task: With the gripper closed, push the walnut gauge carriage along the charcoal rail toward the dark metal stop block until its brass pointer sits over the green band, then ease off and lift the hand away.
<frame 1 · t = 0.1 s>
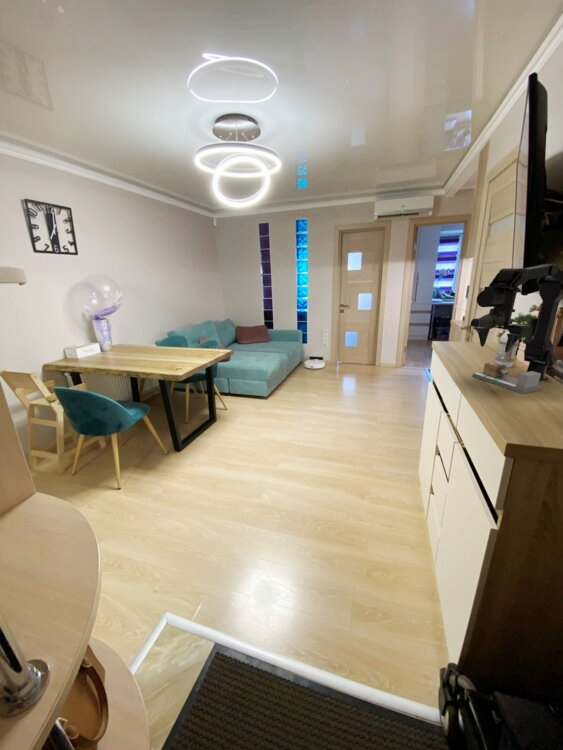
hand: (493, 349, 113), 15 cm above the table, tool pointing down, fingers open, 9 cm apart
gauge rail: (504, 382, 121), on the table
bath foam: (502, 366, 143), on the table
gauge carriage: (496, 370, 123), point 4 cm above the table, slide at 0.0 cm
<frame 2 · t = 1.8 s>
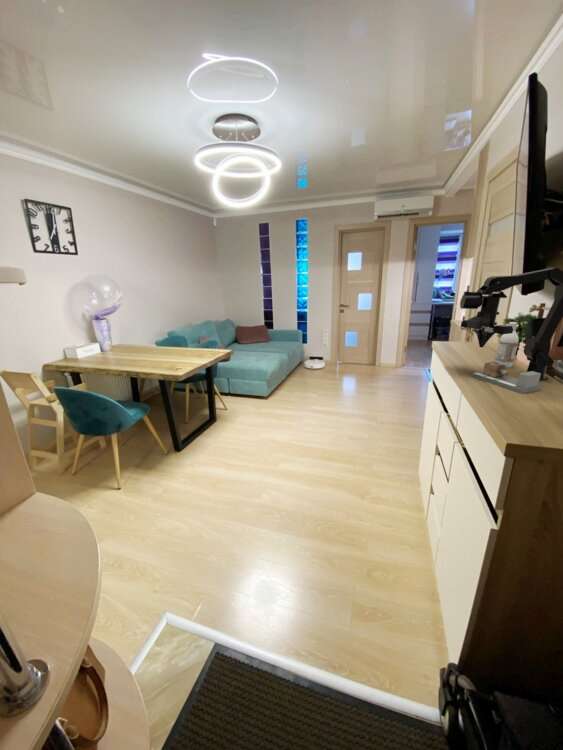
hand: (481, 347, 128), 12 cm above the table, tool pointing down, fingers closed
nothing on the table moved.
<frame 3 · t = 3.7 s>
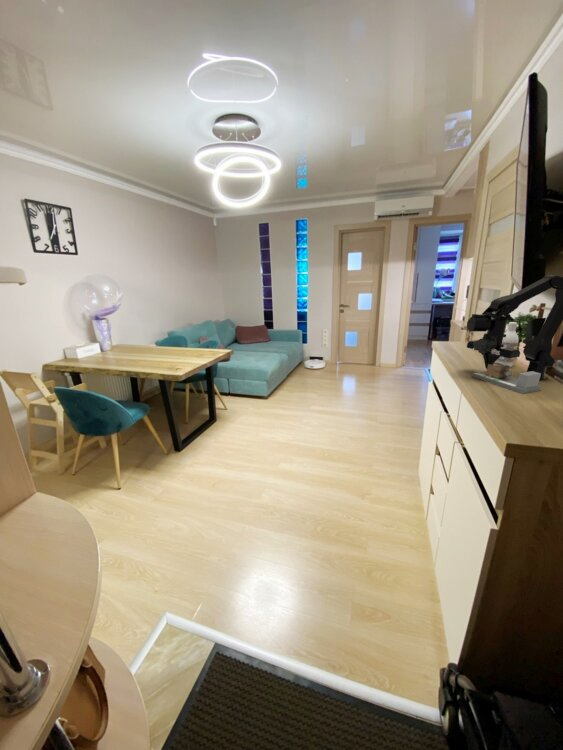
hand: (487, 368, 127), 3 cm above the table, tool pointing down, fingers closed
gauge carriage: (499, 371, 122), point 4 cm above the table, slide at 1.4 cm, touching gripper
everything else where it was.
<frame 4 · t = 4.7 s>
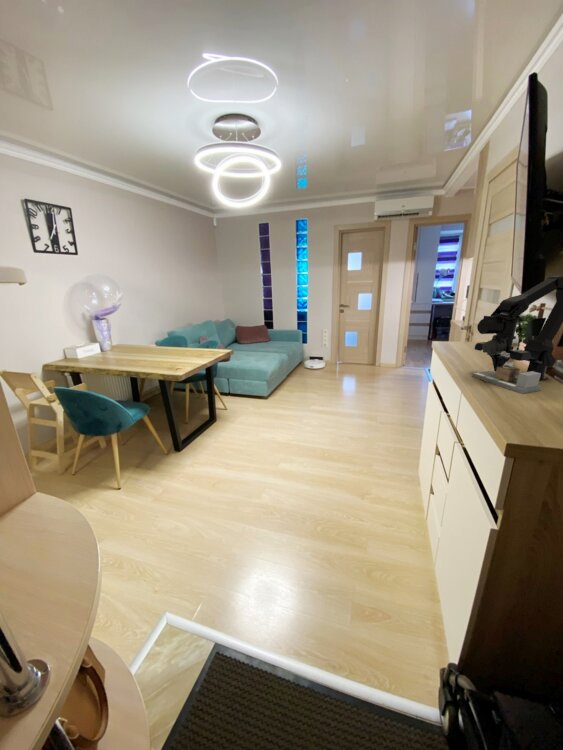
hand: (496, 371, 124), 3 cm above the table, tool pointing down, fingers closed
gauge carriage: (509, 373, 118), point 4 cm above the table, slide at 5.2 cm, touching gripper
everything else where it was.
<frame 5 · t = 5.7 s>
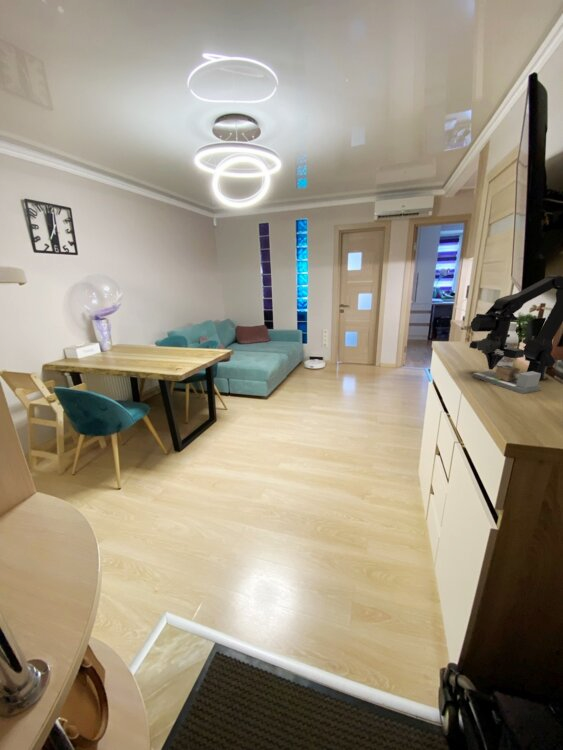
hand: (490, 369, 126), 4 cm above the table, tool pointing down, fingers closed
gauge carriage: (509, 373, 118), point 4 cm above the table, slide at 5.2 cm
everything else where it was.
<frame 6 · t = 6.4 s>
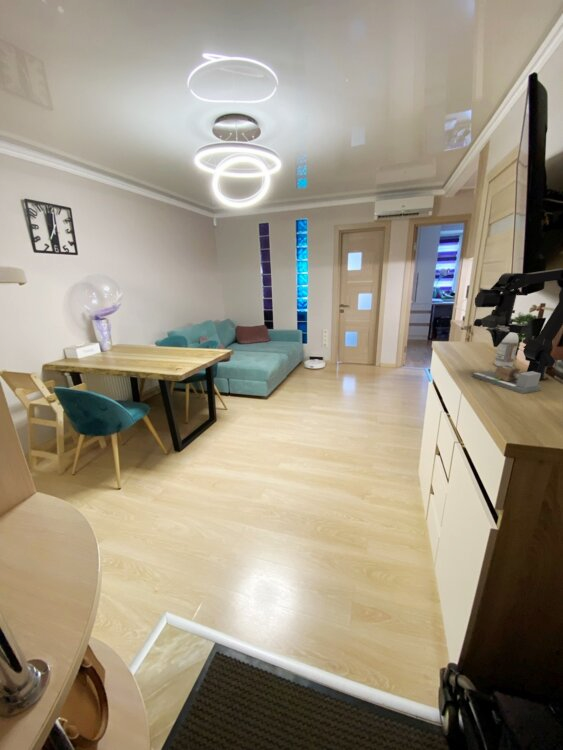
hand: (495, 346, 123), 13 cm above the table, tool pointing down, fingers closed
nothing on the table moved.
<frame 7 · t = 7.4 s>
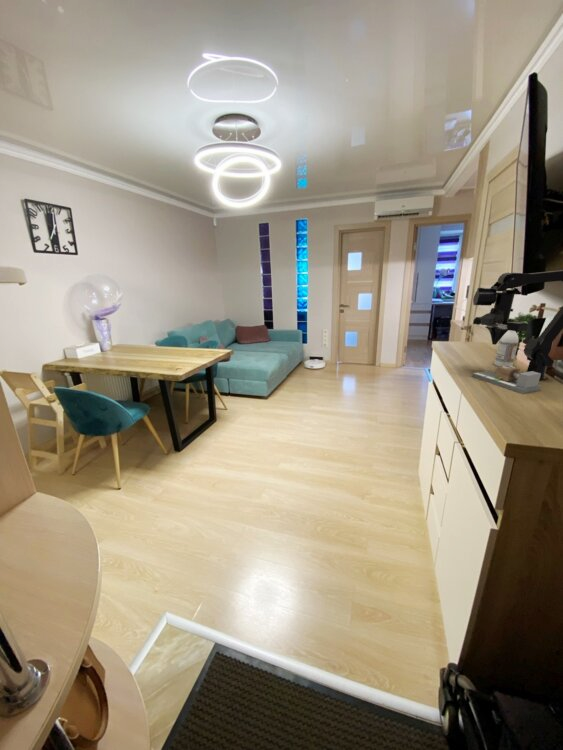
hand: (494, 344, 127), 13 cm above the table, tool pointing down, fingers closed
nothing on the table moved.
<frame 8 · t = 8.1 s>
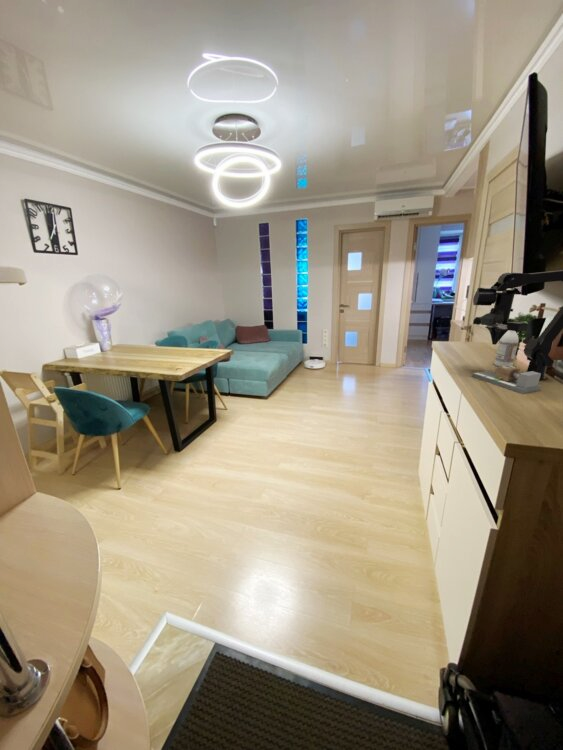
hand: (494, 344, 127), 13 cm above the table, tool pointing down, fingers closed
nothing on the table moved.
at the end: gauge carriage slide at 5.2 cm; bath foam moved 0.2 cm from its start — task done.
